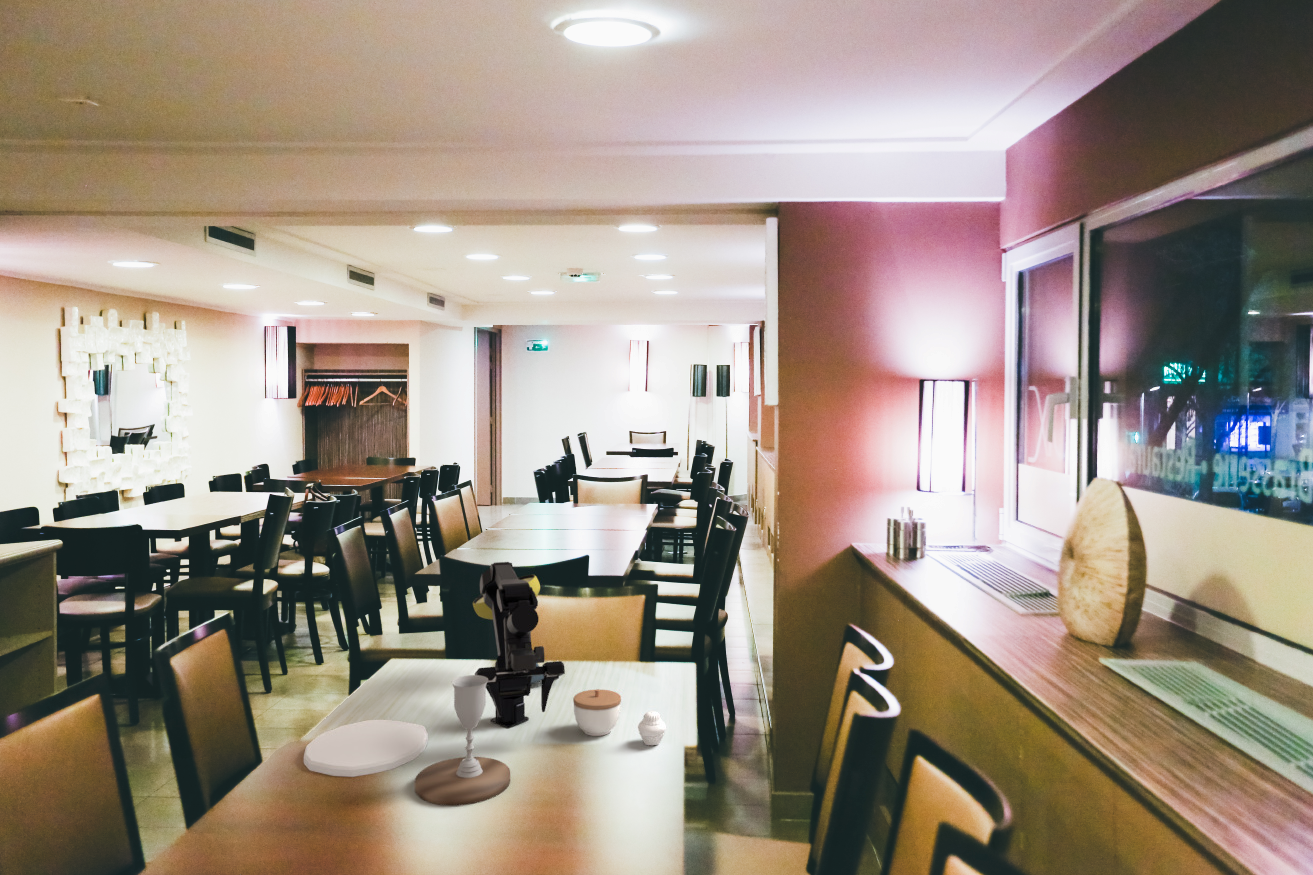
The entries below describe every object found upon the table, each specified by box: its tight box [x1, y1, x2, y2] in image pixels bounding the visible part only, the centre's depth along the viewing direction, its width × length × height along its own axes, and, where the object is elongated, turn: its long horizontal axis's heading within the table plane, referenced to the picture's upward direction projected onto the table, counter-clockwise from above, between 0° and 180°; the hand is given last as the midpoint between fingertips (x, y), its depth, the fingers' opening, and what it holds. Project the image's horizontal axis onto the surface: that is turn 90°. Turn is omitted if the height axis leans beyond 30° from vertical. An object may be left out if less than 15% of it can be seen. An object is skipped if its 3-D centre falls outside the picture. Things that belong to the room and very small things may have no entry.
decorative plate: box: [303, 718, 429, 778], centre depth 178 cm, size 25×4×25 cm
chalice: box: [451, 674, 488, 778], centre depth 163 cm, size 7×7×18 cm
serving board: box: [414, 756, 511, 806], centre depth 162 cm, size 18×18×2 cm
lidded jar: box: [572, 688, 622, 737], centre depth 189 cm, size 11×11×9 cm
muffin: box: [637, 710, 667, 746], centre depth 182 cm, size 6×6×7 cm
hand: (522, 714), depth 178 cm, fingers open, 9 cm apart
